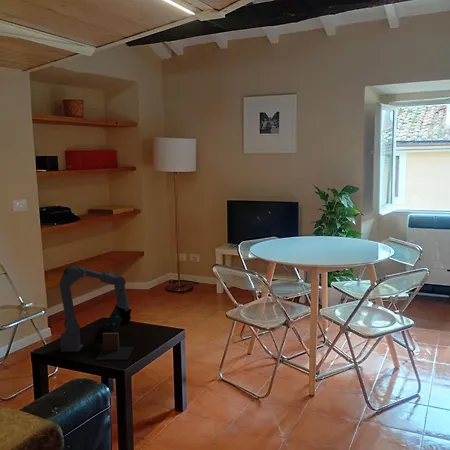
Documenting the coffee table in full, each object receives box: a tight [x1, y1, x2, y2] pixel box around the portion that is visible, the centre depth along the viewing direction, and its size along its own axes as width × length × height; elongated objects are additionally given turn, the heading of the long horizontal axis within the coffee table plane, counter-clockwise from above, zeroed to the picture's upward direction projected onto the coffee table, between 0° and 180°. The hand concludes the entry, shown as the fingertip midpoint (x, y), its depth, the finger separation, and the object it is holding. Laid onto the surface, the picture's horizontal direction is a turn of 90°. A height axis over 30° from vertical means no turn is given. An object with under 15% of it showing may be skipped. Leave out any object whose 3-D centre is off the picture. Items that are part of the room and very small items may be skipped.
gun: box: [103, 299, 132, 333], centre depth 279 cm, size 7×29×15 cm, turn 174°
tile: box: [102, 332, 120, 351], centre depth 249 cm, size 8×2×9 cm, turn 88°
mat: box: [95, 346, 135, 362], centre depth 245 cm, size 16×15×1 cm
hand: (125, 319), depth 266 cm, fingers open, 7 cm apart
